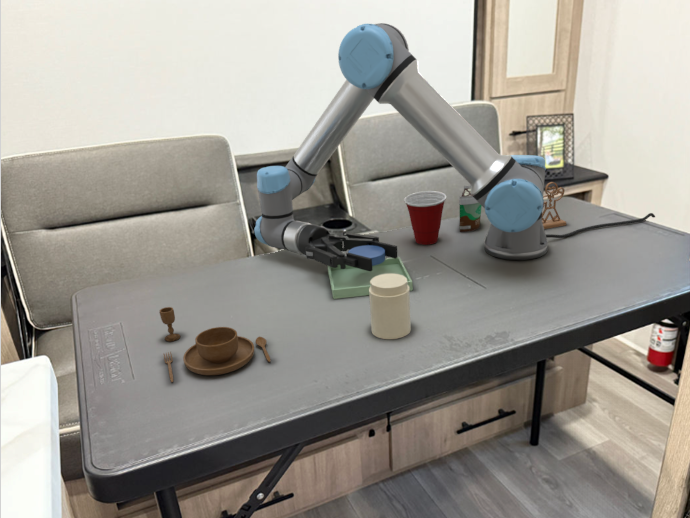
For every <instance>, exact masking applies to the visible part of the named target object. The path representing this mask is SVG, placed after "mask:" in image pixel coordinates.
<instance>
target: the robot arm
mask: <svg viewBox="0 0 690 518" xmlns="http://www.w3.org/2000/svg"><path fill="white" fill-rule="evenodd" d="M337 54H338V55H337V56H338V65H339V69H340V71H341V74H342V75H343V77H344V78H345V81H344V82H343V84H342V85H341V87H340V88H339V89H338V91H337V92H336V94H335V95H334V97H333V98H332V99H331V101H330V102H329V104H328V105H327V107H326V108H325V109H324V111H323V113H322V114H321V115H320V117H319V118H318V120H317V121H316V122H315V123H314V125H313V127H312V128H311V130H310V131H309V132H308V133H307V135H306V136H305V138H304V139H303V141H302V142H301V144H300V146H299V147H298V148H297V150H295V153H294V154H293V156H292V157H291V158H290V160H289V161H288V163H287V164H286V165H285V166H282V165H270V166H266V167H261V168H260V169H258V170H257V172H256V188H257V192H258V198H259V199H258V200H259V205H260V213H261V216H259V217H258V218H257V220H255V227H253V228H254V229H253V230H254V235H255V238H256V239H257V240H258V242H260V243H261V244H263V245H267V246H268V247H271V248H275V249H281V250H285V251H288V252H292V253H296V254H298V255H300V256H302V255H303V256H306V257H305V258H306V259H307V260H313V261H316V262H319V263H321V264H323V265H325V266H327V265H328V266H330V267H332V268H337V267H338V265H340V268H341V269H345V268H346V265H348V266H351V267H355V268H359V269H363V270H366V271H372V258H368V257H364V256H360V255H356V254H352V253H348V251H349V250H350V249H352V248H354V247H358V246H365V245H373V246H379V247H382V248H383V249H384V250H385V257H387V258H395V259H396V258H398V257H399V255H398V245H394V244H389V243H386V242H381V241H380V236H375V235H369V234H361V233H355V232H354V233H353V232H350V231H348V230H344V231H342V235H338V234H335V233H333V234H332V233H330V231H329V230H328V229H327V228H326V227H325V226H322V225H318V224H314V223H309V222H306V221H300V220H296V219H295V218H294V217H295V216H294V207H293V200H295V199H296V198H298V197H299V196H300V195H302V194H303V193H305V192H307V191H309V189H311V187H312V186H313V185H314V183H315V182H316V178H317V176H318V174H319V173H320V172H321V171H322V169H323V168H324V167H325V165H326V164H327V162H328V161H329V160H330V158H331V157H332V156H333V154H334V153H335V152H336V150H337V149H338V147H339V146H340V145H341V143H342V142H343V141H344V140H345V138H346V137H347V136H348V134H350V131H351V130H352V129H353V127H354V126H355V125H356V123H357V122H358V121H359V119H360V118H361V116H363V114H364V113H365V111H366V110H367V109H368V107H369V106H370V105H371V104H372V102H373V101H374V100H375V101H376V102H377V103H378V104H379V105H386V104H387V105H391V107H393V108H394V110H395V111H396V112H398V114H400V116H401V117H403V119H405V121H407V122H408V123H409V124H410V126H412V128H413V129H414V130H415V131H416V132H417V133H418V134H419V135H421V136H422V137H423V139H425V140H426V142H427V143H428V144H429V145H431V146H432V148H434V149H435V150H436V152H437V153H439V155H440V156H441V157H443V159H444V160H445V161H447V163H449V164H450V165H451V166H452V167H453V168H454V169H455V171H456V172H458V173H459V175H460V176H461V177H463V178H464V180H465V181H466V182H468V183H469V186H471V195H472V196H473V197H474V198H475V199H476V200H477V201H478V202H479V203H480V204H481V205H482V208H483V209H484V213H485V215H486V218H487V220H488V221H489V223H490V226H489V228H488V231H487V234H486V235H485V237H484V239H483V244H484V251H485V252H486V253H487V254H488V255H490V256H492V257H495V258H497V259H502V260H508V261H509V260H510V261H526V260H528V261H529V260H534V259H537V258H540V257H543V256H544V255H546V254H547V252H548V246H549V242H548V238H549V239H550V238H551V239H552V238H555V239H564V238H568V237H572V236H573V235H576V234H579V233H582V232H586V231H590V230H594V229H600V228H605V227H614V226H621V225H622V226H623V225H628V224H635V223H641V222H644V221H646V220H648V218H656V215H655V214H654V213H653V212H649V213H648V214H646V215H645V216H644V217H641V218H636V219H631V220H630V219H629V220H623V221H615V222H607V223H601V224H595V225H590V226H586V227H582V228H579V229H576V230H573V231H571V232H568V233H564V234H551V233H549V234H546V231H545V230H546V229H544V227H543V223H542V221H543V220H542V213H543V209H544V208H543V203H544V202H545V198H543V196H544V192H545V177H546V171H547V167H546V159H545V158H544V157H543V156H541V155H532V154H501V153H499V152H498V151H497V150H495V148H493V146H492V145H491V144H490V143H489V142H488V141H487V140H486V139H485V138H484V137H483V136H482V135H481V134H480V133H479V132H478V131H477V130H476V129H475V128H474V127H473V126H472V125H471V124H470V122H468V121H467V120H466V119H465V118H464V117H463V116H462V115H461V114H460V112H458V111H457V110H456V109H455V108H454V107H453V106H452V105H451V104H450V103H449V102H448V101H447V100H446V98H445V97H443V96H442V95H441V94H440V93H439V92H438V90H437V89H435V88H434V86H433V85H431V83H429V81H428V80H427V79H426V78H425V77H424V76H423V75H422V74H421V73H420V71H419V60H418V59H417V58H416V57H415V56H414V55H413V53H411V52H410V49H409V44H408V41H407V38H406V37H405V34H403V33H402V31H401V30H399V28H397V27H395V26H394V25H392V24H390V23H389V24H388V23H384V22H382V23H380V22H379V23H362V24H359V25H357V26H356V27H354V28H352V29H351V30H349V31H348V32H347V33H346V34H345V35H344V37H343V38H342V39H341V42H340V45H339V48H338V53H337ZM345 252H346V253H345ZM328 266H327V267H328Z"/></svg>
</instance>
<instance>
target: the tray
mask: <svg viewBox="0 0 690 518" xmlns="http://www.w3.org/2000/svg"><path fill="white" fill-rule="evenodd" d="M326 266H327V275H328V278H329V279H328V280H329V284H330V288H331V293H332V300H337V299H348V298H355V297H365V296H369V288H370V286H371V284H370V280H371V279H372V278H374V277H375V276H378V275H381V274H400V275H403V276H404V277H406V278H407V282H408V283H407V285H408V286H409V288H410V292H411V291H413V288H414V286H413V280H412V278H411V276H410V274H409V272H408V270H407V268H406V267H405V264H404V263H403V261H402V258H401V257H400V256H398V258H396V259H395V258H391V257H387V258H386V257H385V261H384V262H383V263H381V264H378V265H375V266H372V271H366V270H363V269H359V268H355V267H351V266H348V265H346V268H345V269H341V268H340V265H338V267H337V268H332V267H330V266H328V265H326Z"/></svg>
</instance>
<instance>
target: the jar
mask: <svg viewBox="0 0 690 518" xmlns="http://www.w3.org/2000/svg"><path fill="white" fill-rule="evenodd" d="M407 283H408V282H407V278H406V277H404V276H403V275H400V274H381V275H378V276H375V277H374V278H372V279H371V280H370V284H371V286H370V288H369V295H368V296H369V313H370V314H369V315H370V327H371V333H372V336H374V337H376V338H379V339H382V340H397V339H398V340H399V339H401V338H404V337H406V336H408V335H409V334H410V333H411V331H412V323H411V322H412V320H411V319H412V317H411V291H410V288H409V286H408V285H407Z"/></svg>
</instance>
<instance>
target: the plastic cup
mask: <svg viewBox="0 0 690 518" xmlns="http://www.w3.org/2000/svg"><path fill="white" fill-rule="evenodd" d="M446 199H447V194H446V193H444V192H441V191H438V190H436V191H435V190H422V191H416V192H413V193H410V194H408V195H406V196H405V197H404V198H403V202H404V203H405V205H406V208H407V211H408V214H409V219H410V224H411V228H412V231H413V238H414V240H415V243H417V244H419V245H422V246H423V245H425V246H426V245H427V246H428V245H433V244H436V243H437V242H438V240H439V236H440V229H441V224H442V216H443V211H444V206H445V202H446Z"/></svg>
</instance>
